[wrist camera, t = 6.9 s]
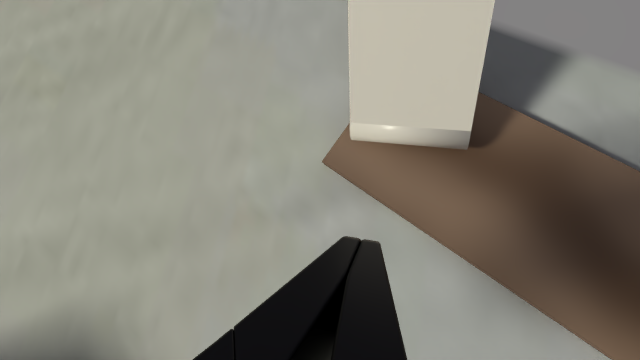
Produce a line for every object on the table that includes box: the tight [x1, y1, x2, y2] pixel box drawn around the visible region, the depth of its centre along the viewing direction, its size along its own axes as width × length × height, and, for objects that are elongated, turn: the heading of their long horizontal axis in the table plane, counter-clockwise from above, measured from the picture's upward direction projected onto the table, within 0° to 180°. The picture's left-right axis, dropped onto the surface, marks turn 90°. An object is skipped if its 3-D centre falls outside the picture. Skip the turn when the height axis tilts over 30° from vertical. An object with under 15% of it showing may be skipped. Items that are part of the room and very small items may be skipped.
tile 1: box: [348, 0, 495, 150], centre depth 16 cm, size 2×6×11 cm
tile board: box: [322, 92, 640, 360], centre depth 17 cm, size 8×23×1 cm, turn 53°
